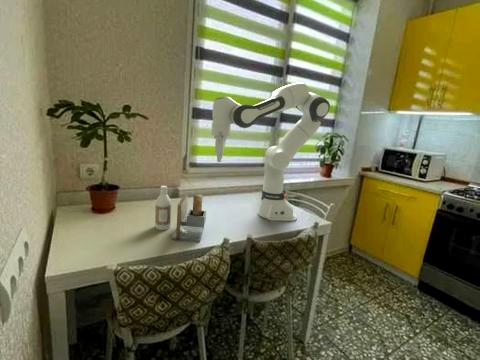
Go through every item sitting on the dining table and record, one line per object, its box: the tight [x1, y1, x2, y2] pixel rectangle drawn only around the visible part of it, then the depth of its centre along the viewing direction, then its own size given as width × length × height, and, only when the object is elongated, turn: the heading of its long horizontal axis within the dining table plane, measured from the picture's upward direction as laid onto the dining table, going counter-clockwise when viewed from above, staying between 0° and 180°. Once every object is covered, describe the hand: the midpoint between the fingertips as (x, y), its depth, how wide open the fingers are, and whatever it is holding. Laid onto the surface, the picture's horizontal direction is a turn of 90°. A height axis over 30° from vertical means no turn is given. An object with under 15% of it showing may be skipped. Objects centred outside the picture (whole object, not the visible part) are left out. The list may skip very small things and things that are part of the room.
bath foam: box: [154, 185, 172, 231], centre depth 129 cm, size 7×7×20 cm
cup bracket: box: [171, 193, 207, 243], centre depth 126 cm, size 13×16×16 cm
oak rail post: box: [192, 194, 204, 216], centre depth 126 cm, size 4×4×12 cm
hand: (219, 160), depth 137 cm, fingers open, 8 cm apart
